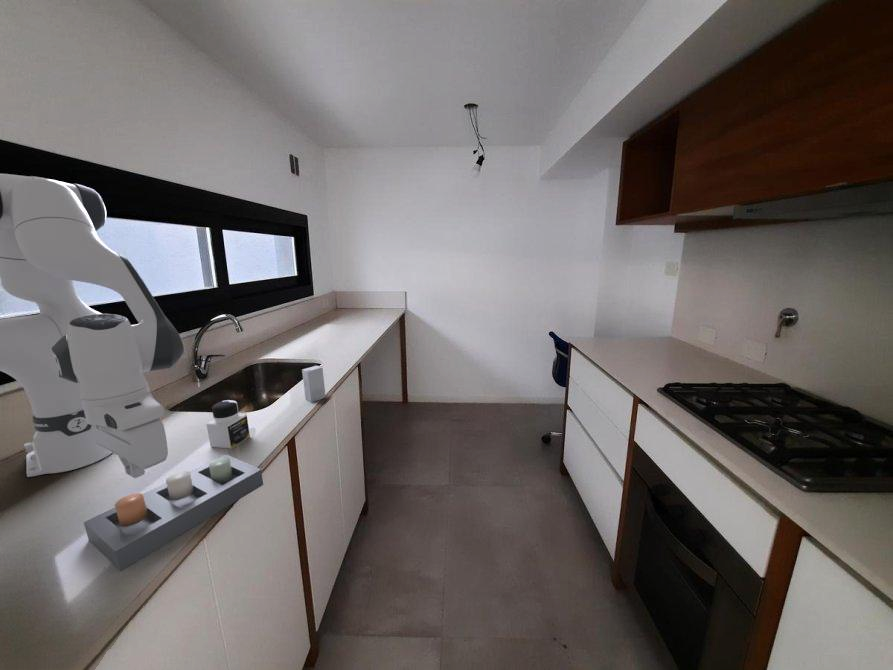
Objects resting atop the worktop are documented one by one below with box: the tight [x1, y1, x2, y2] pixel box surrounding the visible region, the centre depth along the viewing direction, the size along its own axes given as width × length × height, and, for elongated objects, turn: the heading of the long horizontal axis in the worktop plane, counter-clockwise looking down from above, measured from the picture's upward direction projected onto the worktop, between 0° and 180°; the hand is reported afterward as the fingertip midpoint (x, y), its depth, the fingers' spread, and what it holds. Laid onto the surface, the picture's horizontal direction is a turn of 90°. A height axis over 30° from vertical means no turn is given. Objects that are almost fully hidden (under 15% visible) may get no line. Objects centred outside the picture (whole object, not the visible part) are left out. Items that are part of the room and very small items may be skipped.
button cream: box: [165, 470, 194, 500], centre depth 73 cm, size 4×4×4 cm
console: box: [83, 453, 264, 572], centre depth 74 cm, size 14×26×4 cm, turn 151°
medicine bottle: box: [206, 399, 251, 450], centre depth 100 cm, size 7×7×12 cm
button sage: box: [209, 458, 233, 484], centre depth 80 cm, size 4×4×4 cm
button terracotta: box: [114, 492, 148, 527], centre depth 66 cm, size 4×4×4 cm
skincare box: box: [301, 365, 327, 403], centre depth 130 cm, size 6×4×12 cm
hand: (135, 474), depth 66 cm, fingers closed
